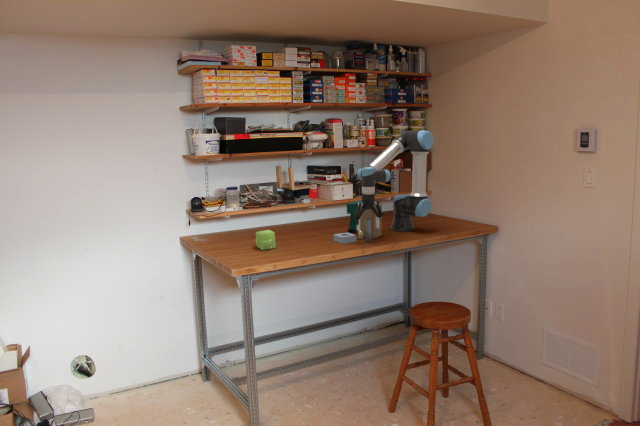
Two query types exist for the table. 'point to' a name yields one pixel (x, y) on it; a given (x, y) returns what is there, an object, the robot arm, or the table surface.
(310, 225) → the table surface
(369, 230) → the long pin
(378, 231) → the wooden block
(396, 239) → the table surface
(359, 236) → the short pin
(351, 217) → the power tool
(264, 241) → the green block
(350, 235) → the grey flat block
